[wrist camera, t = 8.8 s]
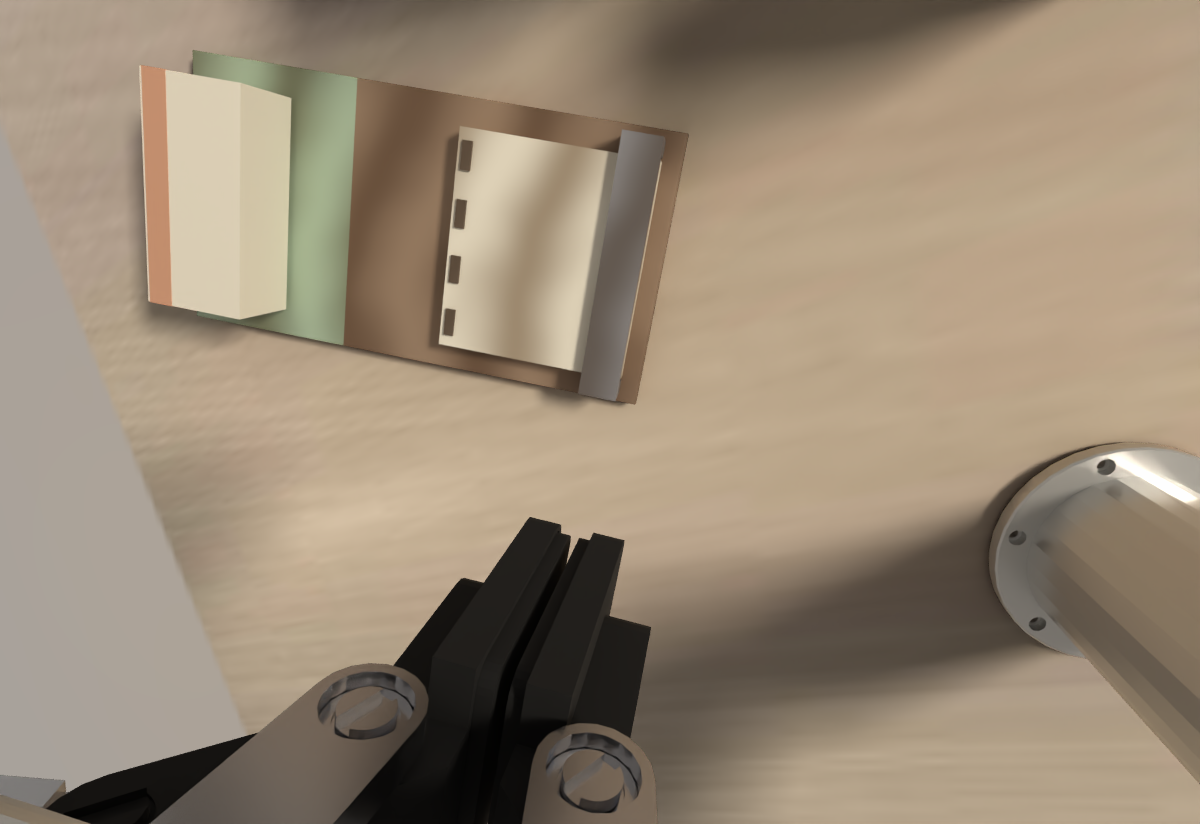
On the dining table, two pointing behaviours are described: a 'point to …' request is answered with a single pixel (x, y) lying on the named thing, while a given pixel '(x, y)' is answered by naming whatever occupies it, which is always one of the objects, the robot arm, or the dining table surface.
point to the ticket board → (469, 229)
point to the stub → (215, 193)
